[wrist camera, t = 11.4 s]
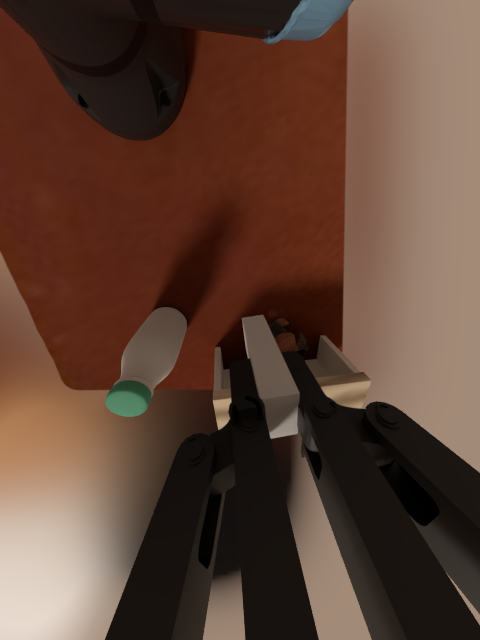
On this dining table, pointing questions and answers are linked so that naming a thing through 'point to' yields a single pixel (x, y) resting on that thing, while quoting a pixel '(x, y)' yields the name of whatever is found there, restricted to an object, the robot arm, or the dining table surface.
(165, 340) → the milk bottle
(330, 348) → the small wooden bench
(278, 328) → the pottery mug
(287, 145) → the dining table surface
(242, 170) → the dining table surface
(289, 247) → the dining table surface
